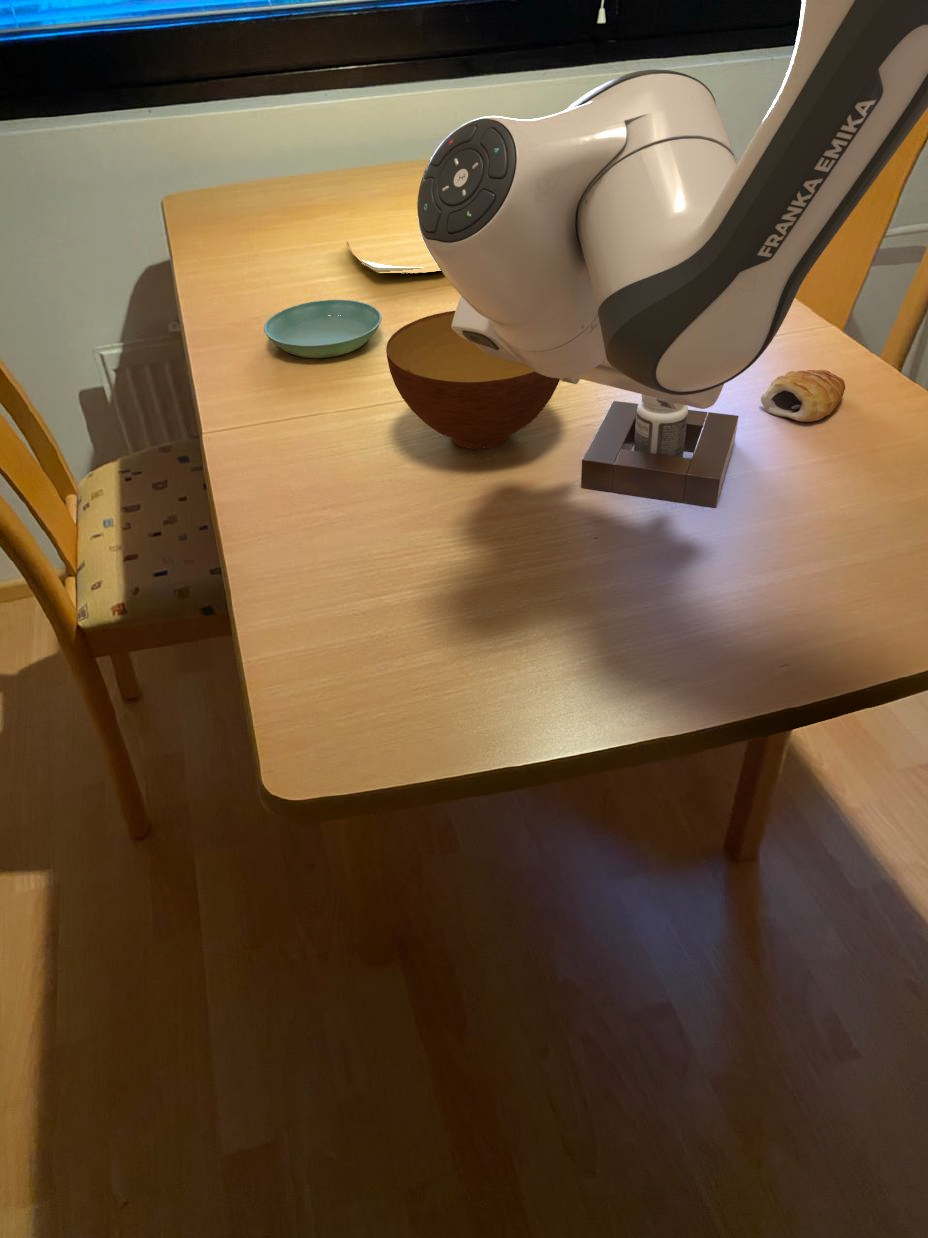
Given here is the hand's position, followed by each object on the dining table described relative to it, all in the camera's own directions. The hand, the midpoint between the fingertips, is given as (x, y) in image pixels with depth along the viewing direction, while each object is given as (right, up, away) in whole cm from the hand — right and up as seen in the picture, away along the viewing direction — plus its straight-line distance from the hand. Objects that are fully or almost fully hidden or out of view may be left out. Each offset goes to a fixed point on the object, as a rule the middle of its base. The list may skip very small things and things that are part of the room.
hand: (622, 386), depth 77 cm
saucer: (-31, +16, +40) cm, 53 cm away
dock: (+6, -4, +13) cm, 15 cm away
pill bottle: (+6, -5, +13) cm, 15 cm away
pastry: (+23, +3, +21) cm, 31 cm away
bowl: (-12, 0, +20) cm, 23 cm away
